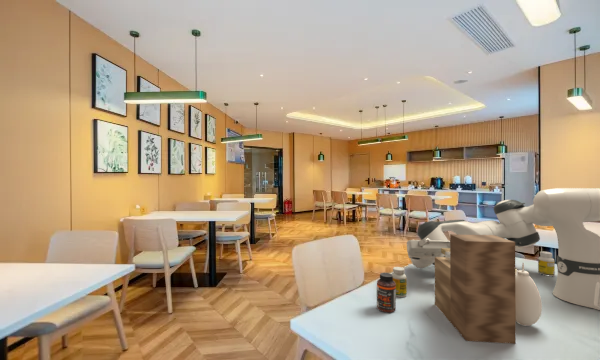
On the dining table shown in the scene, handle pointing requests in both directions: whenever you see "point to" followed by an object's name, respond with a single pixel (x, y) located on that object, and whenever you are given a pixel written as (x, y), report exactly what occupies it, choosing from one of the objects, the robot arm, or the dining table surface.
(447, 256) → the lever cap
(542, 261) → the supplement bottle
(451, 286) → the stepped stand
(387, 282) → the supplement bottle
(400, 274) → the supplement bottle
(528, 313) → the sauce bottle
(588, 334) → the dining table surface
